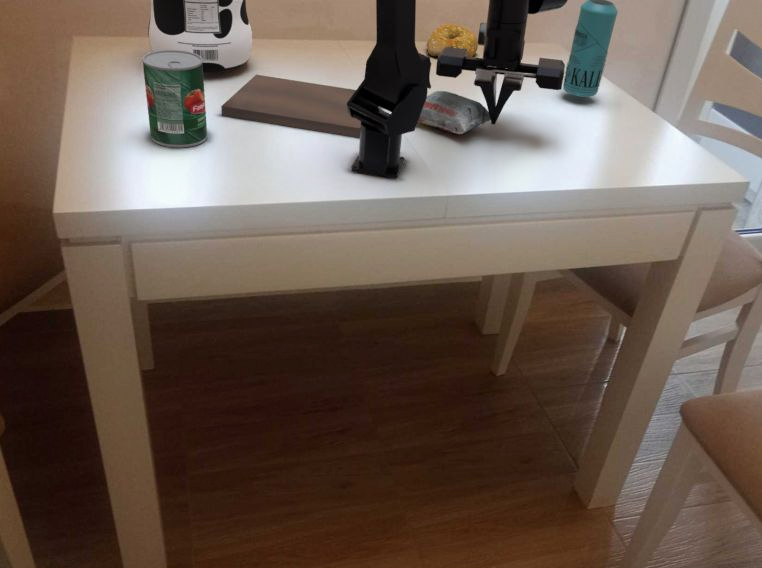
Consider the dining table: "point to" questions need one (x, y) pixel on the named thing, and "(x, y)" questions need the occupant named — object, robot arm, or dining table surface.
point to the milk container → (203, 31)
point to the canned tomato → (175, 98)
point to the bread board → (294, 105)
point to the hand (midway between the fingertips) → (493, 123)
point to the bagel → (452, 39)
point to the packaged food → (452, 112)
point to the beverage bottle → (590, 48)
